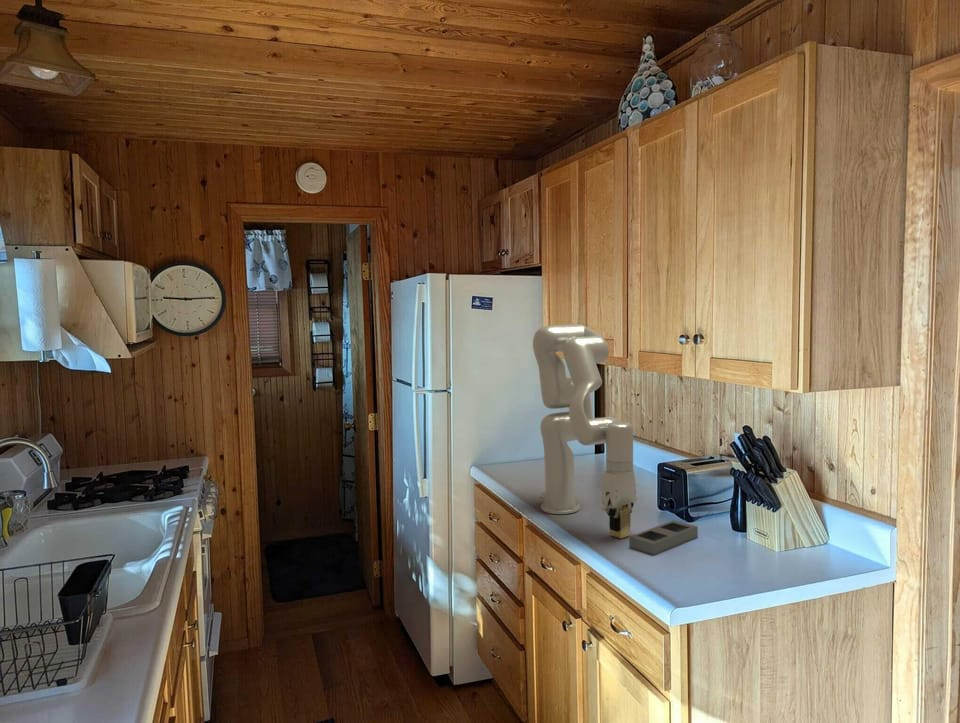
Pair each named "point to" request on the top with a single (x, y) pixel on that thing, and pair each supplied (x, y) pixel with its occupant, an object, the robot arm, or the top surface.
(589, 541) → the top surface
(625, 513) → the yellow rectangular block
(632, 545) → the grey slotted block
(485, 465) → the top surface
